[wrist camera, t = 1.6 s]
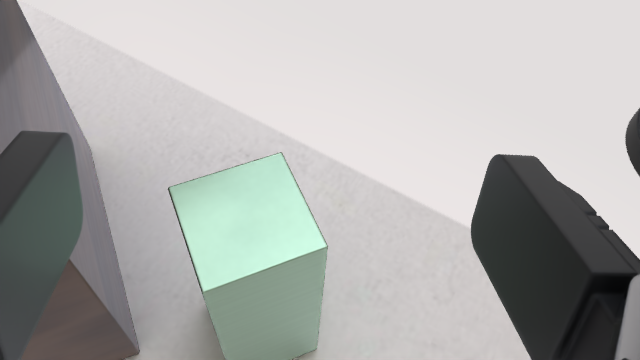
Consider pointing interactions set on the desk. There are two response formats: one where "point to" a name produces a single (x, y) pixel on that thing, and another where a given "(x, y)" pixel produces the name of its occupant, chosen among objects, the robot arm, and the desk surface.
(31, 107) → the stand
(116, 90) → the desk surface
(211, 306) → the pen tin
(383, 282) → the desk surface
